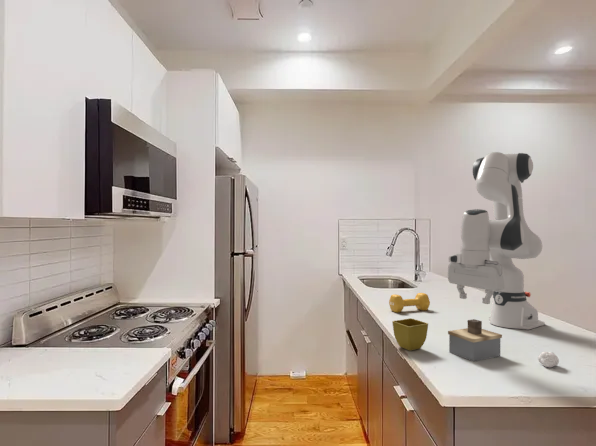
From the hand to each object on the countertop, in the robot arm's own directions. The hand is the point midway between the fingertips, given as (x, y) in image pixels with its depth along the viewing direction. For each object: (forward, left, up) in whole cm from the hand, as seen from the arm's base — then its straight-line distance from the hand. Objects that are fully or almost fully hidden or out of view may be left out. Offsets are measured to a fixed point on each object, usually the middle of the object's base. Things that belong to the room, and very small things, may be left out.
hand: (474, 301), depth 138 cm
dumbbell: (-24, -61, -18) cm, 68 cm away
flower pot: (+15, -14, -18) cm, 27 cm away
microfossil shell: (-12, +17, -18) cm, 27 cm away
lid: (0, 0, -13) cm, 13 cm away
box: (0, 0, -18) cm, 18 cm away
